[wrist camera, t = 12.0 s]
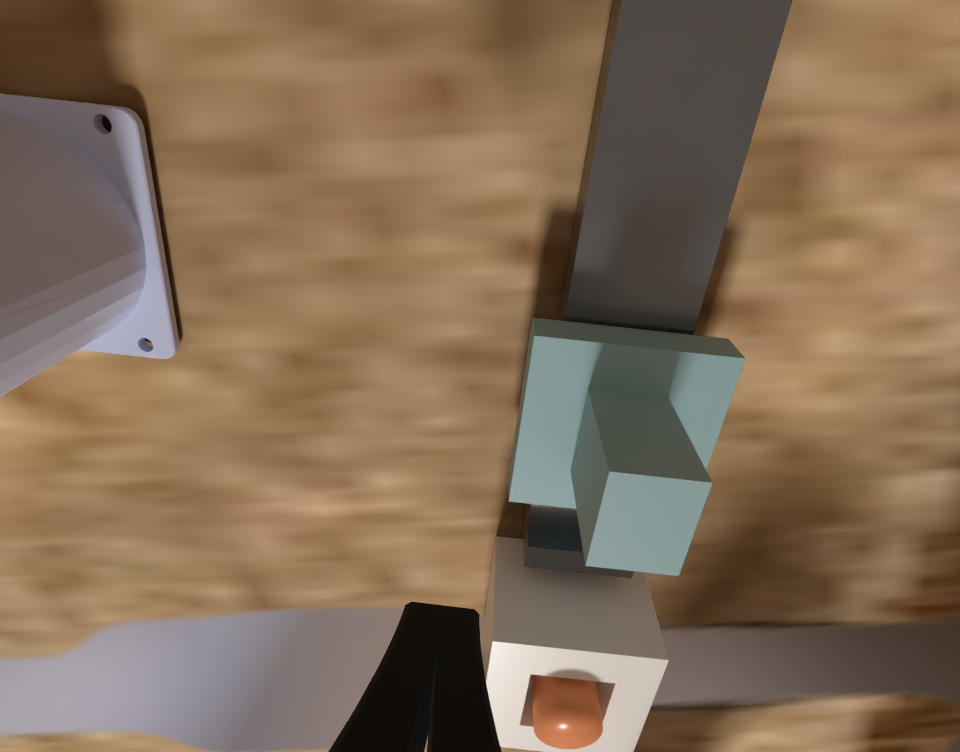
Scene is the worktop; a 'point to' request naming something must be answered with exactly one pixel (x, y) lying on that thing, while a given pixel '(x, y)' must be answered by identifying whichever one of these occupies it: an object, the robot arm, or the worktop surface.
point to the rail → (658, 184)
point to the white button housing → (569, 646)
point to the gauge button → (566, 712)
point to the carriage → (622, 435)
